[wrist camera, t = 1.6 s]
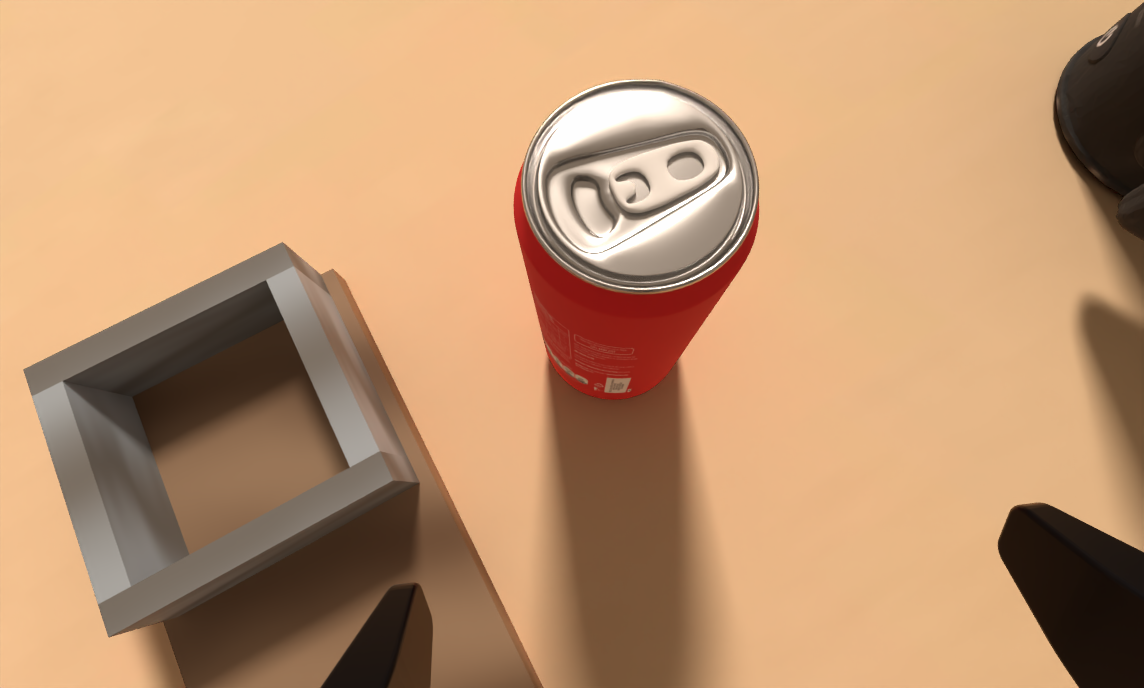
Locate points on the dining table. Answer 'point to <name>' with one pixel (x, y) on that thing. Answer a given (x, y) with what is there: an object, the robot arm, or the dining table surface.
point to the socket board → (262, 485)
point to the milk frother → (1109, 113)
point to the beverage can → (632, 228)
